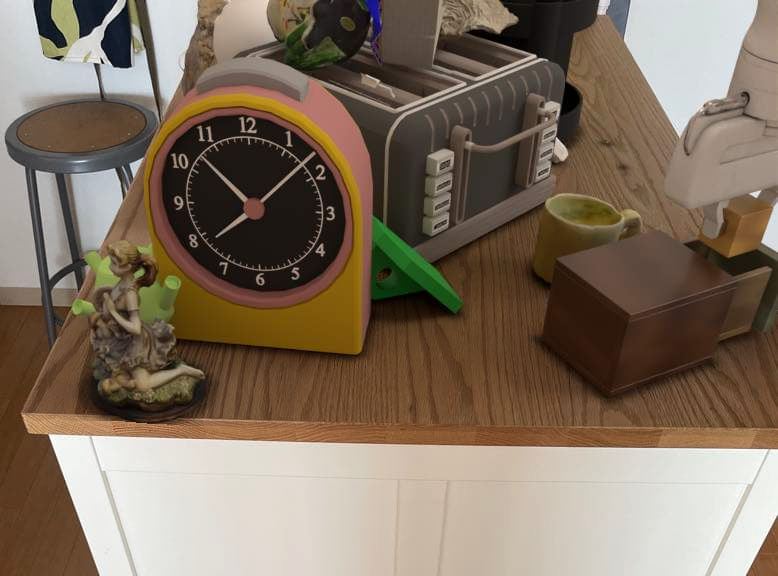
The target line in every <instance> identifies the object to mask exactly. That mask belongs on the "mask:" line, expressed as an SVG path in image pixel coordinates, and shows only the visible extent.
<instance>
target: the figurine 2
mask: <svg viewBox="0 0 778 576" xmlns="http://www.w3.org/2000/svg"><path fill="white" fill-rule="evenodd" d="M266 15H267V20H268V24H269V26H270V28H271V30H272V32H273V33H274V36H275V38H276V39H277V40H278V41H279V42H281V43H283V42H285V47H286V48H287V51H286V55H285V58H284V64H285V65H287V66H290V67H292V68H293V69H295V70H300V71H315V70H318V69H322V68H326V67H328V66H330V65H333V64H334V63H342V62H345V61H347V60H348V59H350V58H352V57H353V56H354V55H355V54H356V53H357V52H358V51H359V49H360V48H361V47H362V45H363V44H364V42H365V40H366V38H367V35H368V31H369V27H370V22H371V16H372V15H371V13H370V11H369V10H368V8H367V6H366V0H269V2H268V6H267V10H266Z"/></svg>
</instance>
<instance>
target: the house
mask: <svg viewBox="0 0 778 576" xmlns="http://www.w3.org/2000/svg"><path fill="white" fill-rule="evenodd" d="M366 6H367V8H368V10H369V11H370V13H371V15H372V17H373V24H372V28H373V35H372V39H371V43H370V48H371V50H372V52H373V54H374V55H375V57H376V59H377V61H378V62H379V64H380V66H381V65H382V62H386V63H392V64H399V65H405V66H411V67H418V68H424V69H431V70H432V66H433V61H434V56H435V51H436V46H437V42H438V37H439V32H440V27H441V22H442V18H443V13H444V8H445V0H366ZM381 20H382V24H380V21H381Z"/></svg>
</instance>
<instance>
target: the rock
mask: <svg viewBox="0 0 778 576" xmlns="http://www.w3.org/2000/svg"><path fill="white" fill-rule="evenodd" d="M229 2H230V1H227V0H197V2H196V3H197V12H196V13H197V14H196V19H197V24H196V26H195V29H194V32H193V34H192V35H191V38H190V39H189V44H188V47H187V49H186V51H185V54H184V67H183V68H184V69H183V74H182V77H181V90H182V92H183V93H182V94H183V98H184V97H185V96H186V94H187V93H188V92H189V91H191V90H192V89H193V88H194V87H195V83H196V82H197V80H198V79H199V77H200V76H201V75H202V73H203V72H204V71H205V70H206V69H207V68H209V67H211V66H214V65H216V64H218V61H217V59H216V56H215V53H214V47H213V39H214V37H213V32H214V27H215V25H214V23H215V20H216V18H217V17H218V16H219V15H221V13H222V10H223V8H224V6H226V5H227V4H228V3H229Z"/></svg>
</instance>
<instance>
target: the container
mask: <svg viewBox="0 0 778 576" xmlns="http://www.w3.org/2000/svg"><path fill="white" fill-rule="evenodd" d="M499 1H500V2H501V3H502V4H503V6H504V7H505V8H508V12H509V13H511V14H513V15H514V16H516V17H518V18H519V21H518V22H517V23H516V24H514V25H511V26H508V27H506V28H505V29H503V30H502V31H501V33H500V34H495V33H491V32H488V31H486V30H484V29H475V30H470V31H468V32H465V33H466V34H470V35H473V36H476V37H479V38H482V39H486V40H489V41H492V42H495V43H498V44H501V45H505V46H508V47H511V48H514V49H517V50H521V51H524V52H527V53H530V54H533V55H536V57H538V58H542V59H547V60H548V61H550V62H553V63H556V64H558V65H559V66H560V67H561V68H562V70H563V72H564V76H565V88H564V94H563V100H562V106H561V112H560V118H559V124H558V130H557V136H556V137H557V138H558V140H559V141H560V142H561V143H562V144H563V143H564V142H566V141H568V140H570V139H571V138H573V137H574V136H575V135H576V133H577V132H578V130H579V126H580V119H581V114H582V108H583V102H584V98H583V97H584V96H583V94H582V92H581V91H580V90H579V88H578V87H576V86H575V85H574V84H573V83H571V82H568V81H567V78H568V73H569V66H570V60H571V55H572V54H571V53H572V48H573V41H574V35H575V34H576V33H579V32H582V31H585V30H587V29H588V28H591V26H593V25H594V24H595V23H596V21H597V16H598V13H599V12H598V11H599V7H600V1H601V0H499Z"/></svg>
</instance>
